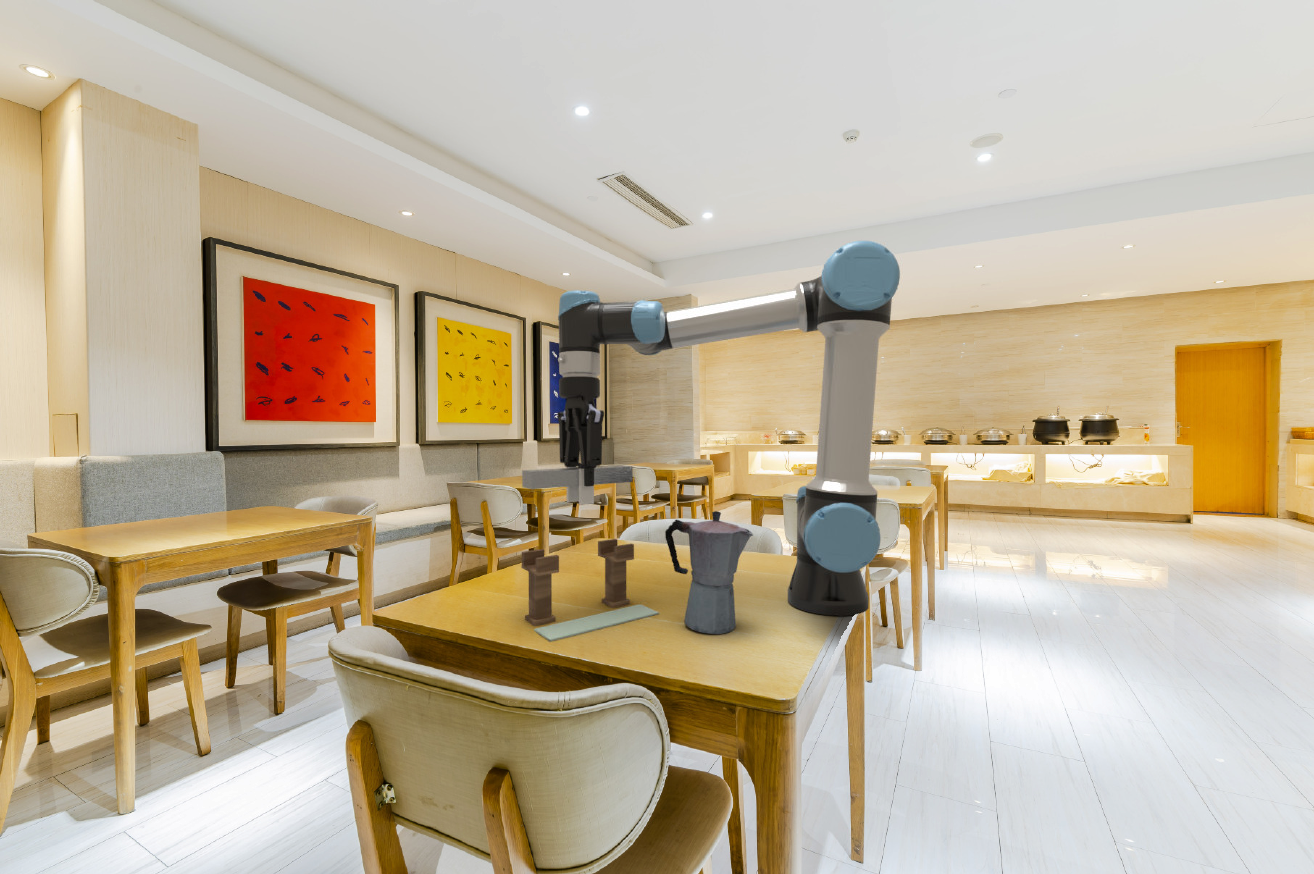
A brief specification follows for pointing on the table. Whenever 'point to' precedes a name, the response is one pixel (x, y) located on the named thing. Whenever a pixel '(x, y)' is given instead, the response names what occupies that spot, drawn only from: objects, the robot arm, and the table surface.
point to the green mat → (594, 622)
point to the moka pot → (710, 571)
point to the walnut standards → (547, 565)
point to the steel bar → (574, 476)
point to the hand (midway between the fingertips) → (580, 502)
